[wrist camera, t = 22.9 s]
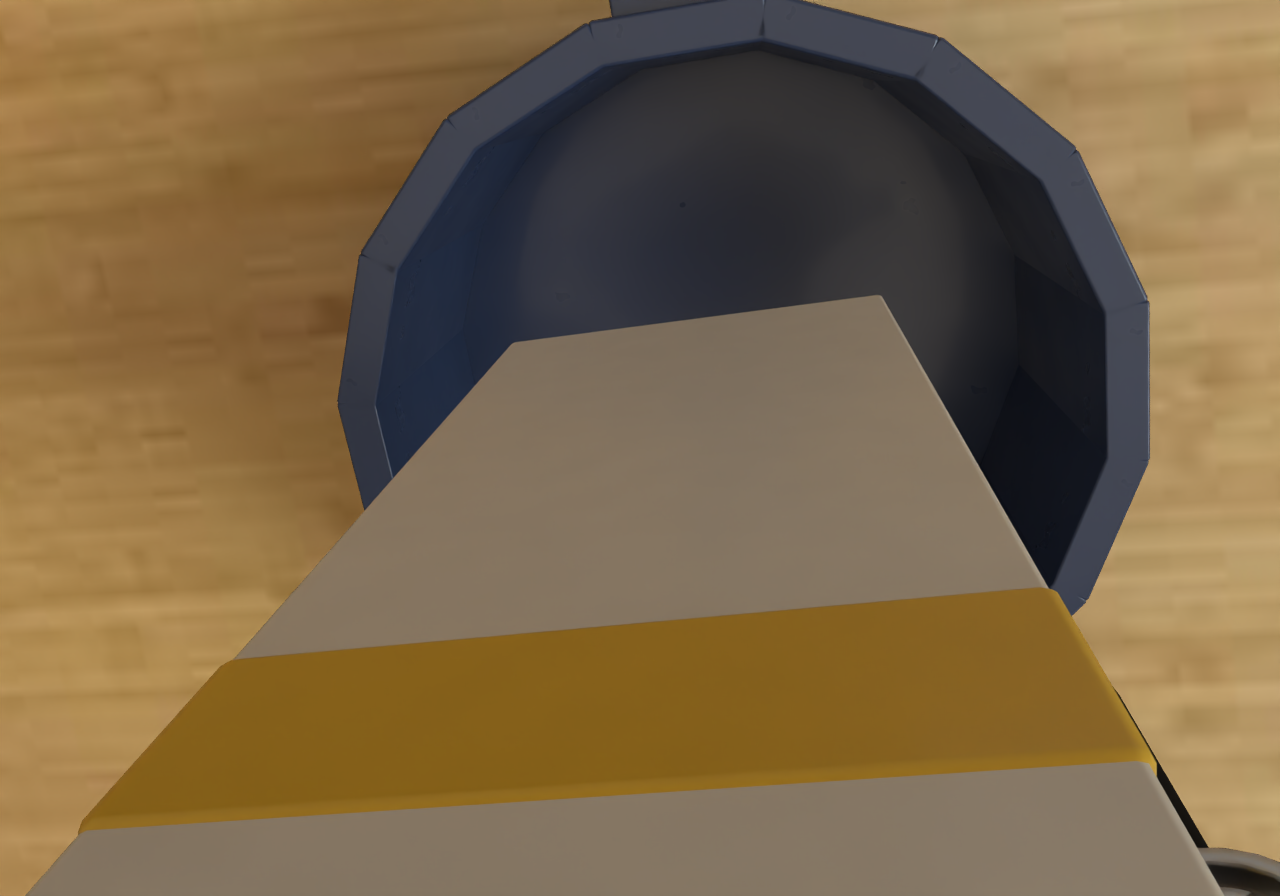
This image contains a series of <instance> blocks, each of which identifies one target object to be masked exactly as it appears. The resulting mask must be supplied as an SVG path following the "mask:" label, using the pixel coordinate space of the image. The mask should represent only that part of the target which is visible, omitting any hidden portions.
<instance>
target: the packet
mask: <svg viewBox="0 0 1280 896" xmlns="http://www.w3.org/2000/svg"><path fill="white" fill-rule="evenodd" d="M25 896H1224V894H1223V892H1222V891H1221V889H1220V887H1219V885H1218V884H1217V882H1216V880H1215V878H1214V877H1213V875H1212V873H1211V871H1210V870H1209V868H1208V866H1207V864H1206V863H1205V861H1204V859H1203V857H1202V856H1201V854H1200V852H1199V850H1198V849H1197V847H1196V845H1195V843H1194V842H1193V840H1192V838H1191V836H1190V835H1189V833H1188V831H1187V829H1186V828H1185V826H1184V824H1183V822H1182V821H1181V819H1180V817H1179V815H1178V814H1177V812H1176V810H1175V808H1174V807H1173V805H1172V803H1171V801H1170V800H1169V798H1168V796H1167V794H1166V793H1165V791H1164V789H1163V787H1162V786H1161V784H1160V782H1159V780H1158V779H1157V763H1156V761H1155V759H1154V757H1153V755H1152V754H1151V752H1150V750H1149V748H1148V746H1147V745H1146V743H1145V741H1144V739H1143V738H1142V736H1141V734H1140V733H1139V731H1138V729H1137V727H1136V726H1135V724H1134V722H1133V721H1132V719H1131V717H1130V715H1129V714H1128V712H1127V710H1126V709H1125V707H1124V705H1123V704H1122V702H1121V700H1120V698H1119V697H1118V695H1117V693H1116V692H1115V690H1114V688H1113V686H1112V685H1111V683H1110V681H1109V680H1108V678H1107V676H1106V674H1105V673H1104V671H1103V669H1102V668H1101V666H1100V664H1099V662H1098V661H1097V659H1096V657H1095V656H1094V654H1093V652H1092V650H1091V649H1090V647H1089V645H1088V644H1087V642H1086V640H1085V638H1084V637H1083V635H1082V633H1081V632H1080V630H1079V628H1078V627H1077V625H1076V623H1075V621H1074V620H1073V618H1072V616H1071V615H1070V613H1069V611H1068V609H1067V608H1066V606H1065V604H1064V603H1063V601H1062V599H1061V597H1060V596H1059V594H1058V592H1056V591H1054V590H1052V589H1049V588H1048V586H1047V585H1046V583H1045V581H1044V579H1043V578H1042V576H1041V574H1040V572H1039V571H1038V569H1037V567H1036V565H1035V564H1034V562H1033V560H1032V558H1031V557H1030V555H1029V553H1028V551H1027V550H1026V548H1025V546H1024V544H1023V543H1022V541H1021V539H1020V537H1019V536H1018V534H1017V532H1016V530H1015V529H1014V527H1013V525H1012V523H1011V522H1010V520H1009V518H1008V516H1007V515H1006V513H1005V511H1004V509H1003V508H1002V506H1001V504H1000V502H999V501H998V499H997V497H996V495H995V494H994V492H993V490H992V488H991V487H990V485H989V483H988V481H987V480H986V478H985V476H984V474H983V473H982V471H981V469H980V467H979V466H978V464H977V462H976V460H975V459H974V457H973V455H972V453H971V452H970V450H969V448H968V446H967V445H966V443H965V441H964V439H963V438H962V436H961V434H960V432H959V431H958V429H957V427H956V425H955V424H954V422H953V420H952V418H951V417H950V415H949V413H948V411H947V410H946V408H945V406H944V404H943V403H942V401H941V399H940V397H939V396H938V394H937V392H936V390H935V389H934V387H933V385H932V383H931V382H930V380H929V378H928V376H927V375H926V373H925V371H924V369H923V368H922V366H921V364H920V362H919V361H918V359H917V357H916V355H915V354H914V352H913V350H912V348H911V347H910V345H909V343H908V341H907V340H906V338H905V336H904V334H903V333H902V331H901V329H900V327H899V326H898V324H897V322H896V320H895V319H894V317H893V315H892V313H891V312H890V310H889V308H888V306H887V305H886V303H885V301H884V299H883V298H882V296H879V295H873V296H866V297H858V298H850V299H843V300H835V301H827V302H820V303H812V304H805V305H797V306H789V307H782V308H774V309H766V310H759V311H751V312H743V313H736V314H728V315H720V316H713V317H705V318H697V319H690V320H682V321H674V322H667V323H659V324H651V325H644V326H636V327H628V328H621V329H613V330H605V331H598V332H590V333H582V334H575V335H567V336H559V337H552V338H544V339H536V340H529V341H521V342H514V343H513V344H511V345H510V346H509V348H508V349H507V350H506V351H505V352H504V353H503V354H502V355H501V357H500V358H499V359H498V360H497V361H496V362H495V363H494V365H493V366H492V367H491V368H490V369H489V370H488V371H487V372H486V374H485V375H484V376H483V377H482V378H481V379H480V380H479V382H478V383H477V384H476V385H475V386H474V387H473V388H472V390H471V391H470V392H469V393H468V394H467V395H466V396H465V397H464V399H463V400H462V401H461V402H460V403H459V404H458V405H457V407H456V408H455V409H454V410H453V411H452V412H451V413H450V414H449V416H448V417H447V418H446V419H445V420H444V421H443V422H442V424H441V425H440V426H439V427H438V428H437V429H436V430H435V431H434V433H433V434H432V435H431V436H430V437H429V438H428V439H427V441H426V442H425V443H424V444H423V445H422V446H421V447H420V448H419V450H418V451H417V452H416V453H415V454H414V455H413V456H412V458H411V459H410V460H409V461H408V462H407V463H406V464H405V465H404V467H403V468H402V469H401V470H400V471H399V472H398V473H397V475H396V476H395V477H394V478H393V479H392V480H391V481H390V482H389V484H388V485H387V486H386V487H385V488H384V489H383V490H382V492H381V493H380V494H379V495H378V496H377V497H376V498H375V499H374V501H373V502H372V503H371V504H370V505H369V506H368V507H367V509H366V510H365V511H364V512H363V513H362V514H361V515H360V516H359V518H358V519H357V520H356V521H355V522H354V523H353V524H352V526H351V527H350V528H349V529H348V530H347V531H346V532H345V534H344V535H343V536H342V537H341V538H340V539H339V540H338V541H337V543H336V544H335V545H334V546H333V547H332V548H331V549H330V551H329V552H328V553H327V554H326V555H325V556H324V557H323V558H322V560H321V561H320V562H319V563H318V564H317V565H316V566H315V568H314V569H313V570H312V571H311V572H310V573H309V574H308V575H307V577H306V578H305V579H304V580H303V581H302V582H301V583H300V585H299V586H298V587H297V588H296V589H295V590H294V591H293V592H292V594H291V595H290V596H289V597H288V598H287V599H286V600H285V602H284V603H283V604H282V605H281V606H280V607H279V608H278V609H277V611H276V612H275V613H274V614H273V615H272V616H271V617H270V619H269V620H268V621H267V622H266V623H265V624H264V625H263V626H262V628H261V629H260V630H259V631H258V632H257V633H256V634H255V636H254V637H253V638H252V639H251V640H250V641H249V642H248V643H247V645H246V646H245V647H244V648H243V649H242V650H241V651H240V653H239V654H238V655H237V656H236V657H235V658H234V659H233V660H231V661H229V662H227V663H225V664H224V665H222V666H220V667H219V668H218V669H217V671H216V672H215V673H214V674H213V675H212V676H211V677H210V678H209V680H208V681H207V682H206V683H205V684H204V685H203V686H202V687H201V688H200V690H199V691H198V692H197V693H196V694H195V695H194V696H193V697H192V699H191V700H190V701H189V702H188V703H187V704H186V705H185V706H184V707H183V709H182V710H181V711H180V712H179V713H178V714H177V715H176V716H175V718H174V719H173V720H172V721H171V722H170V723H169V724H168V725H167V726H166V728H165V729H164V730H163V731H162V732H161V733H160V734H159V735H158V737H157V738H156V739H155V740H154V741H153V742H152V743H151V744H150V746H149V747H148V748H147V749H146V750H145V751H144V752H143V753H142V754H141V756H140V757H139V758H138V759H137V760H136V761H135V762H134V763H133V765H132V766H131V767H130V768H129V769H128V770H127V771H126V772H125V773H124V775H123V776H122V777H121V778H120V779H119V780H118V781H117V782H116V784H115V785H114V786H113V787H112V788H111V789H110V790H109V791H108V793H107V794H106V795H105V796H104V797H103V798H102V799H101V800H100V801H99V803H98V804H97V805H96V806H95V807H94V808H93V809H92V810H91V812H90V813H89V814H88V815H87V816H86V817H85V818H84V819H83V820H82V823H81V826H80V828H79V831H78V836H77V837H76V839H75V840H74V841H73V842H72V843H71V844H70V845H69V846H68V848H67V849H66V850H65V851H64V852H63V853H62V854H61V856H60V857H59V858H58V859H57V860H56V861H55V862H54V863H53V865H52V866H51V867H50V868H49V869H48V870H47V871H46V873H45V874H44V875H43V876H42V877H41V878H40V879H39V880H38V882H37V883H36V884H35V885H34V886H33V887H32V888H31V890H30V891H29V892H28V893H27V894H26V895H25Z"/></svg>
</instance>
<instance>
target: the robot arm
mask: <svg viewBox="0 0 1280 896" xmlns="http://www.w3.org/2000/svg"><path fill="white" fill-rule="evenodd" d="M1113 688H1114V687H1113ZM1114 690H1115V689H1114ZM1115 692H1116V693H1117V691H1116V690H1115ZM1117 695H1118V697H1119V698H1120V700H1121V702H1122V704H1123V705H1124V707H1125V709H1126V710H1127V712H1128V714H1129V715H1130V717H1131V719H1132V721H1133V722H1134V724H1135V726H1136V727H1137V729H1138V731H1139V733H1140V734H1141V736H1142V738H1143V739H1144V741H1145V743H1146V745H1147V746H1148V748H1149V750H1150V752H1151V754H1152V755H1153V757H1154V759H1155V761H1156V763H1157V779H1158V780H1159V782H1160V784H1161V786H1162V787H1163V789H1164V791H1165V793H1166V794H1167V796H1168V798H1169V800H1170V801H1171V803H1172V805H1173V807H1174V808H1175V810H1176V812H1177V814H1178V815H1179V817H1180V819H1181V821H1182V822H1183V824H1184V826H1185V828H1186V829H1187V831H1188V833H1189V835H1190V836H1191V838H1192V840H1193V842H1194V843H1195V845H1196V847H1197V849H1198V850H1199V852H1200V854H1201V856H1202V857H1203V859H1204V861H1205V863H1206V864H1207V866H1208V868H1209V870H1210V871H1211V873H1212V875H1213V877H1214V878H1215V880H1216V882H1217V884H1218V885H1219V887H1220V889H1221V891H1222V892H1223V894H1224V896H1280V862H1277V861H1275V860H1272V859H1269V858H1267V857H1264V856H1261V855H1258V854H1254V853H1248V852H1243V851H1238V850H1232V849H1227V848H1209V847H1208V846H1207V844H1206V842H1205V841H1204V839H1203V837H1202V835H1201V834H1200V832H1199V830H1198V829H1197V827H1196V825H1195V824H1194V822H1193V820H1192V818H1191V817H1190V815H1189V813H1188V812H1187V810H1186V808H1185V806H1184V805H1183V803H1182V801H1181V800H1180V798H1179V796H1178V795H1177V793H1176V791H1175V789H1174V788H1173V786H1172V784H1171V783H1170V781H1169V779H1168V777H1167V776H1166V774H1165V772H1164V771H1163V769H1162V767H1161V765H1160V764H1159V762H1158V760H1157V759H1156V757H1155V755H1154V754H1153V752H1152V750H1151V748H1150V747H1149V745H1148V743H1147V742H1146V740H1145V738H1144V736H1143V735H1142V733H1141V731H1140V730H1139V728H1138V726H1137V725H1136V723H1135V721H1134V719H1133V718H1132V716H1131V714H1130V713H1129V711H1128V709H1127V707H1126V706H1125V704H1124V702H1123V701H1122V699H1121V697H1120V695H1119V694H1118V693H1117Z"/></svg>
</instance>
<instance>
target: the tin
mask: <svg viewBox="0 0 1280 896" xmlns="http://www.w3.org/2000/svg"><path fill="white" fill-rule="evenodd" d="M609 3H610V9H611V16H612V17H610V18H604V19H598V20H592V21H590V22H589V24H588V23H586V24H583V25H582V26H580V27H579V28H577V29H576V30H574V31H573V32H571V33H570V34H568V35H567V36H565V37H564V38H562V39H561V40H559V41H558V42H556V43H555V44H553V45H552V46H550V47H549V48H547V49H546V50H544V51H543V52H541V53H540V54H538V55H537V56H535V57H534V58H532V59H531V60H530V61H528V62H527V63H525V64H524V65H522V66H521V67H519V68H518V69H516V70H515V71H513V72H512V73H510V74H509V75H507V76H506V77H504V78H503V79H501V80H500V81H498V82H497V83H495V84H494V85H492V86H491V87H489V88H488V89H486V90H485V91H483V92H482V93H480V94H479V95H477V96H476V97H474V98H473V99H471V100H470V101H469V102H467V103H466V104H464V105H463V106H461V107H460V108H458V109H457V110H455V111H454V112H452V113H451V114H449V115H448V117H447V119H444V120H443V121H442V123H441V125H440V126H439V128H438V129H437V131H436V133H435V134H434V136H433V137H432V139H431V141H430V142H429V144H428V145H427V147H426V149H425V150H424V152H423V153H422V155H421V156H420V158H419V160H418V161H417V163H416V164H415V166H414V168H413V169H412V171H411V172H410V174H409V176H408V177H407V179H406V180H405V182H404V184H403V185H402V187H401V188H400V190H399V192H398V193H397V195H396V196H395V198H394V199H393V201H392V203H391V204H390V206H389V207H388V209H387V211H386V212H385V214H384V215H383V217H382V219H381V220H380V222H379V223H378V225H377V227H376V228H375V230H374V231H373V233H372V235H371V236H370V238H369V239H368V241H367V242H366V244H365V246H364V247H363V249H362V251H361V254H360V255H359V259H358V266H357V273H356V279H355V286H354V293H353V300H352V306H351V313H350V320H349V326H348V333H347V340H346V347H345V353H344V360H343V367H342V373H341V380H340V387H339V393H338V400H337V401H338V409H339V413H340V417H341V420H342V424H343V428H344V432H345V436H346V440H347V444H348V448H349V452H350V456H351V460H352V464H353V468H354V472H355V475H356V479H357V483H358V487H359V491H360V495H361V499H362V503H363V507H364V511H365V510H366V509H367V507H368V506H369V505H370V504H371V503H372V502H373V501H374V499H375V498H376V497H377V496H378V495H379V494H380V493H381V492H382V490H383V489H384V488H385V487H386V486H387V485H388V484H389V482H390V481H391V480H392V479H393V478H394V477H395V476H396V475H397V473H398V472H399V471H400V470H401V469H402V468H403V467H404V465H405V464H406V463H407V462H408V461H409V460H410V459H411V458H412V456H413V455H414V454H415V453H416V452H417V451H418V450H419V448H420V447H421V446H422V445H423V444H424V443H425V442H426V441H427V439H428V438H429V437H430V436H431V435H432V434H433V433H434V431H435V430H436V429H437V428H438V427H439V426H440V425H441V424H442V422H443V421H444V420H445V419H446V418H447V417H448V416H449V414H450V413H451V412H452V411H453V410H454V409H455V408H456V407H457V405H458V404H459V403H460V402H461V401H462V400H463V399H464V397H465V396H466V395H467V394H468V393H469V392H470V391H471V390H472V388H473V387H474V386H475V385H476V384H477V383H478V382H479V380H480V379H481V378H482V377H483V376H484V375H485V374H486V372H487V371H488V370H489V369H490V368H491V367H492V366H493V365H494V363H495V362H496V361H497V360H498V359H499V358H500V357H501V355H502V354H503V353H504V352H505V351H506V350H507V349H508V348H509V346H510V345H511V344H513V343H514V342H521V341H529V340H536V339H544V338H552V337H559V336H567V335H575V334H582V333H590V332H598V331H605V330H613V329H621V328H628V327H636V326H644V325H651V324H659V323H667V322H674V321H682V320H690V319H697V318H705V317H713V316H720V315H728V314H736V313H743V312H751V311H759V310H766V309H774V308H782V307H789V306H797V305H805V304H812V303H820V302H827V301H835V300H843V299H850V298H858V297H866V296H873V295H879V296H882V298H883V299H884V301H885V303H886V305H887V306H888V308H889V310H890V312H891V313H892V315H893V317H894V319H895V320H896V322H897V324H898V326H899V327H900V329H901V331H902V333H903V334H904V336H905V338H906V340H907V341H908V343H909V345H910V347H911V348H912V350H913V352H914V354H915V355H916V357H917V359H918V361H919V362H920V364H921V366H922V368H923V369H924V371H925V373H926V375H927V376H928V378H929V380H930V382H931V383H932V385H933V387H934V389H935V390H936V392H937V394H938V396H939V397H940V399H941V401H942V403H943V404H944V406H945V408H946V410H947V411H948V413H949V415H950V417H951V418H952V420H953V422H954V424H955V425H956V427H957V429H958V431H959V432H960V434H961V436H962V438H963V439H964V441H965V443H966V445H967V446H968V448H969V450H970V452H971V453H972V455H973V457H974V459H975V460H976V462H977V464H978V466H979V467H980V469H981V471H982V473H983V474H984V476H985V478H986V480H987V481H988V483H989V485H990V487H991V488H992V490H993V492H994V494H995V495H996V497H997V499H998V501H999V502H1000V504H1001V506H1002V508H1003V509H1004V511H1005V513H1006V515H1007V516H1008V518H1009V520H1010V522H1011V523H1012V525H1013V527H1014V529H1015V530H1016V532H1017V534H1018V536H1019V537H1020V539H1021V541H1022V543H1023V544H1024V546H1025V548H1026V550H1027V551H1028V553H1029V555H1030V557H1031V558H1032V560H1033V562H1034V564H1035V565H1036V567H1037V569H1038V571H1039V572H1040V574H1041V576H1042V578H1043V579H1044V581H1045V583H1046V585H1047V586H1048V588H1049V589H1052V590H1054V591H1056V592H1058V594H1059V596H1060V597H1061V599H1062V601H1063V603H1064V604H1065V606H1066V608H1067V609H1068V611H1069V613H1070V615H1071V616H1072V615H1073V614H1074V613H1075V612H1076V611H1077V610H1078V609H1079V608H1080V607H1082V606H1083V605H1084V604H1085V603H1086V600H1088V598H1089V596H1090V594H1091V592H1092V590H1093V587H1094V585H1095V583H1096V581H1097V578H1098V576H1099V574H1100V572H1101V569H1102V567H1103V565H1104V562H1105V560H1106V558H1107V556H1108V553H1109V551H1110V549H1111V547H1112V544H1113V542H1114V540H1115V538H1116V535H1117V533H1118V531H1119V529H1120V526H1121V524H1122V522H1123V519H1124V517H1125V515H1126V513H1127V510H1128V508H1129V506H1130V504H1131V501H1132V499H1133V497H1134V495H1135V492H1136V490H1137V488H1138V486H1139V483H1140V481H1141V479H1142V476H1143V474H1144V472H1145V470H1146V467H1147V465H1148V460H1149V459H1150V334H1149V301H1147V295H1146V293H1145V291H1144V288H1143V286H1142V284H1141V282H1140V280H1139V278H1138V276H1137V274H1136V272H1135V269H1134V267H1133V265H1132V263H1131V261H1130V259H1129V257H1128V255H1127V252H1126V250H1125V248H1124V246H1123V244H1122V242H1121V240H1120V238H1119V236H1118V233H1117V231H1116V229H1115V227H1114V225H1113V223H1112V221H1111V219H1110V217H1109V214H1108V212H1107V210H1106V208H1105V206H1104V204H1103V202H1102V200H1101V197H1100V195H1099V193H1098V191H1097V189H1096V187H1095V185H1094V183H1093V181H1092V178H1091V176H1090V174H1089V172H1088V170H1087V168H1086V166H1085V164H1084V162H1083V159H1082V157H1081V155H1080V153H1079V151H1077V150H1076V147H1075V146H1074V145H1073V144H1072V143H1071V142H1069V141H1068V140H1067V139H1066V138H1065V137H1063V136H1062V135H1061V134H1060V133H1059V132H1057V131H1056V130H1055V129H1054V128H1052V127H1051V126H1050V125H1049V124H1048V123H1046V122H1045V121H1044V120H1043V119H1041V118H1040V117H1039V116H1038V115H1037V114H1035V113H1034V112H1033V111H1032V110H1030V109H1029V108H1028V107H1027V106H1026V105H1024V104H1023V103H1022V102H1021V101H1019V100H1018V99H1017V98H1016V97H1015V96H1013V95H1012V94H1011V93H1010V92H1009V91H1007V90H1006V89H1005V88H1004V87H1002V86H1001V85H1000V84H999V83H998V82H996V81H995V80H994V79H993V78H991V77H990V76H989V75H988V74H987V73H985V72H984V71H983V70H982V69H980V68H979V67H978V66H977V65H976V64H974V63H973V62H972V61H971V60H969V59H968V58H967V57H966V56H965V55H963V54H962V53H961V52H960V51H958V50H957V49H956V48H955V47H954V46H952V45H951V44H950V43H949V42H948V41H946V40H945V39H944V38H942V37H940V38H939V37H938V36H937V35H935V34H931V33H927V32H923V31H919V30H915V29H911V28H908V27H904V26H900V25H896V24H892V23H888V22H884V21H880V20H877V19H873V18H869V17H865V16H861V15H857V14H853V13H849V12H846V11H842V10H838V9H834V8H830V7H826V6H822V5H818V4H815V3H811V2H807V1H803V0H609Z"/></svg>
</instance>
